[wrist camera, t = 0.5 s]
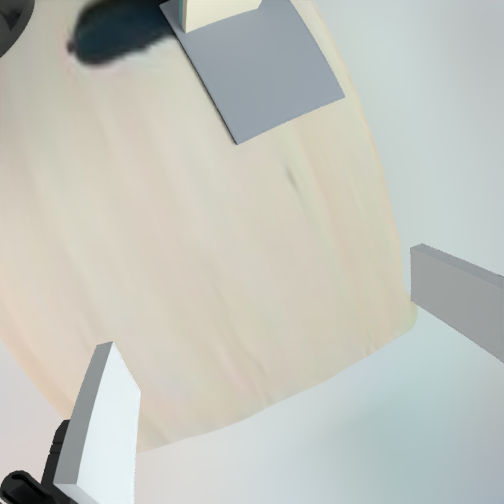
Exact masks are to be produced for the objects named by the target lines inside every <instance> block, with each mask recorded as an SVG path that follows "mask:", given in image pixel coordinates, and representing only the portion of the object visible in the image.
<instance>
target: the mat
mask: <svg viewBox="0 0 504 504" xmlns="http://www.w3.org/2000/svg"><path fill="white" fill-rule="evenodd" d="M159 7H160V9H161V10H162V12H163V14H164V15H165V17H166V19H167V20H168V22H169V24H170V26H171V27H172V29H173V31H174V32H175V34H176V36H177V37H178V39H179V41H180V43H181V44H182V46H183V48H184V50H185V51H186V53H187V55H188V57H189V58H190V60H191V62H192V64H193V65H194V67H195V69H196V71H197V72H198V74H199V76H200V78H201V80H202V81H203V83H204V85H205V87H206V89H207V90H208V92H209V94H210V96H211V98H212V99H213V101H214V103H215V105H216V107H217V109H218V110H219V112H220V114H221V116H222V118H223V120H224V121H225V123H226V125H227V127H228V129H229V131H230V133H231V135H232V136H233V138H234V140H235V142H236V144H237V145H239V144H241V143H243V142H245V141H247V140H249V139H251V138H253V137H255V136H257V135H259V134H261V133H263V132H265V131H267V130H270V129H272V128H274V127H276V126H278V125H280V124H283V123H285V122H287V121H289V120H292V119H294V118H296V117H298V116H301V115H303V114H305V113H308V112H310V111H312V110H315V109H317V108H320V107H322V106H325V105H327V104H329V103H332V102H335V101H337V100H340V99H342V98H345V95H344V93H343V91H342V89H341V87H340V85H339V83H338V81H337V79H336V77H335V75H334V73H333V71H332V70H331V68H330V66H329V64H328V62H327V60H326V58H325V57H324V55H323V53H322V51H321V50H320V48H319V46H318V44H317V43H316V41H315V39H314V38H313V36H312V34H311V33H310V31H309V29H308V28H307V26H306V24H305V23H304V21H303V20H302V18H301V16H300V15H299V13H298V12H297V10H296V9H295V7H294V6H293V4H292V3H291V1H290V0H262V1H261V3H260V5H259V7H258V8H257V9H254V10H250V11H247V12H244V13H240V14H237V15H234V16H231V17H228V18H225V19H222V20H219V21H216V22H214V23H211V24H208V25H205V26H203V27H200V28H198V29H195V30H193V31H190V32H188V33H185V31H184V30H183V28H182V26H181V25H180V23H179V0H170V1H168V2H165V3H163V4H160V5H159Z"/></svg>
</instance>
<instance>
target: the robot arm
mask: <svg viewBox="0 0 504 504" xmlns="http://www.w3.org/2000/svg"><path fill="white" fill-rule="evenodd" d="M34 3H35V0H0V57H1V56H2V55H4V54H5V53H6V52H7V51H8V50H9V48H10V47H11V46H12V45H13V44H14V43H15V42H16V40H17V39H18V38H19V36H20V35H21V33H22V32H23V30H24V29H25V27H26V25H27V23H28V22H29V19H30V17H31V15H32V12H33V9H34ZM410 253H411V301H412V302H414V303H415V304H417V305H419V306H420V307H422V308H423V309H425V310H426V311H428V312H429V313H431V314H433V315H434V316H436V317H437V318H439V319H440V320H442V321H443V322H445V323H446V324H448V325H449V326H451V327H452V328H454V329H455V330H457V331H458V332H460V333H461V334H463V335H464V336H466V337H467V338H469V339H470V340H472V341H473V342H474V343H476V344H477V345H479V346H480V347H482V348H483V349H485V350H486V351H487V352H489V353H490V354H492V355H493V356H495V357H496V358H498V359H499V360H500V361H502V362H503V363H504V277H503V276H500V275H497V274H495V273H493V272H490V271H488V270H486V269H483V268H481V267H479V266H476V265H474V264H472V263H469V262H467V261H465V260H462V259H460V258H457V257H454V256H452V255H450V254H447V253H445V252H442V251H440V250H437V249H435V248H432V247H430V246H427V245H424V244H420V245H417V246H414V247H412V248H410ZM140 397H141V391H140V390H139V388H138V386H137V385H136V383H135V381H134V379H133V377H132V376H131V374H130V372H129V370H128V368H127V367H126V365H125V363H124V361H123V359H122V357H121V355H120V353H119V352H118V350H117V348H116V346H115V344H114V342H113V341H112V342H108V343H104V344H100V345H97V346H96V349H95V351H94V354H93V356H92V359H91V362H90V364H89V367H88V370H87V372H86V375H85V378H84V380H83V383H82V386H81V389H80V392H79V395H78V398H77V400H76V403H75V406H74V410H73V413H72V416H71V419H70V420H64V421H63V422H62V423H61V425H60V426H59V427H58V429H57V430H56V432H55V435H54V439H53V442H52V443H53V445H51V448H50V454H49V455H48V458H47V462H46V466H45V469H44V473H43V477H42V481H41V484H40V483H38V482H37V481H36V480H35V479H34V478H33V477H32V476H31V475H30V474H29V473H27V472H25V471H23V470H21V471H14V472H12V473H10V474H9V475H8V476H6V477H5V478H4V480H3V482H2V484H1V487H0V498H1V499H2V500H3V501H4V502H6V503H7V504H134V478H135V456H136V441H137V428H138V417H139V406H140ZM0 504H2V503H1V502H0Z"/></svg>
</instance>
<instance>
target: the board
mask: <svg viewBox="0 0 504 504" xmlns="http://www.w3.org/2000/svg"><path fill="white" fill-rule="evenodd" d="M261 1H262V0H179V23H180V25H181V26H182V28H183V30H184V31H185V33H188V32H190V31H193V30H195V29H198V28H200V27H203V26H205V25H208V24H211V23H214V22H216V21H219V20H222V19H225V18H228V17H231V16H234V15H237V14H240V13H244V12H247V11H250V10H254V9H257V8H258V7H259V5H260V3H261Z"/></svg>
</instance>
